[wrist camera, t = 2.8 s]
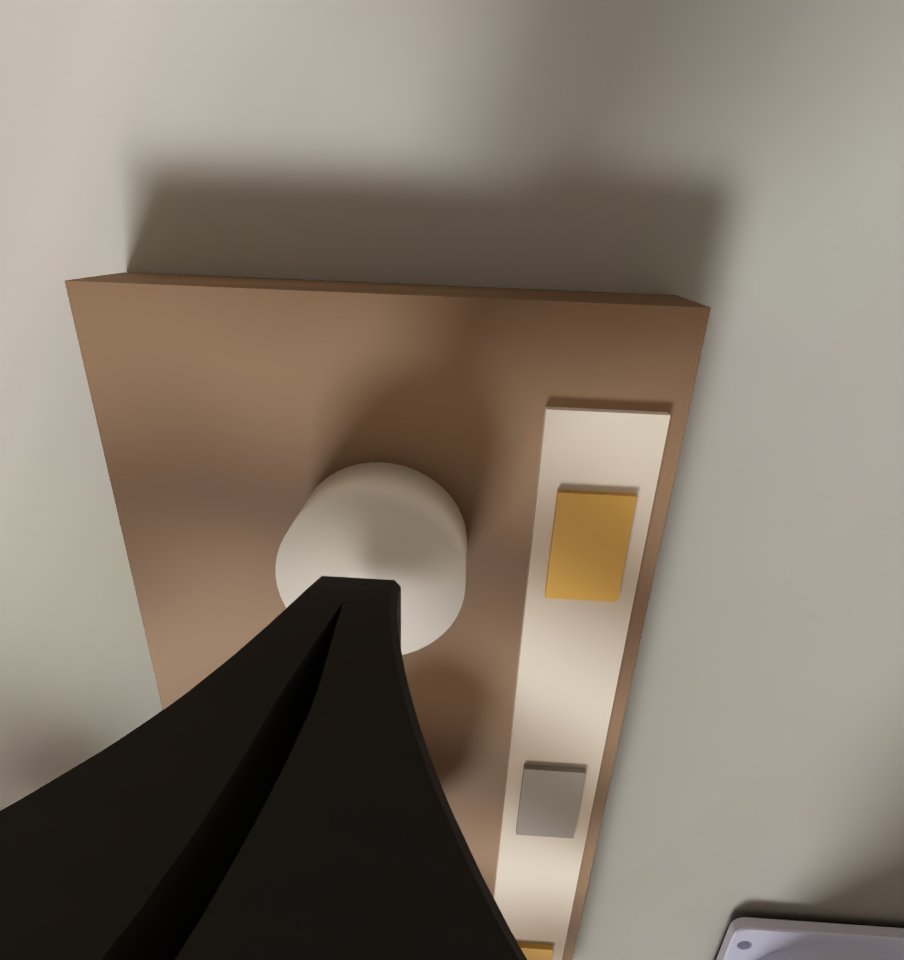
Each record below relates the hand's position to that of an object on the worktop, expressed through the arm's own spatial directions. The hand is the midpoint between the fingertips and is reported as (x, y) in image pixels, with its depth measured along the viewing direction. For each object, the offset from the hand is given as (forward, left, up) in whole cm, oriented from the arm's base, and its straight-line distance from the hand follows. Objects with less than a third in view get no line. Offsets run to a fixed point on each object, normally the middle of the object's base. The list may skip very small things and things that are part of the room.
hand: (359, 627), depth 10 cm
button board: (-8, 0, -5) cm, 10 cm away
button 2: (0, 0, -3) cm, 3 cm away
